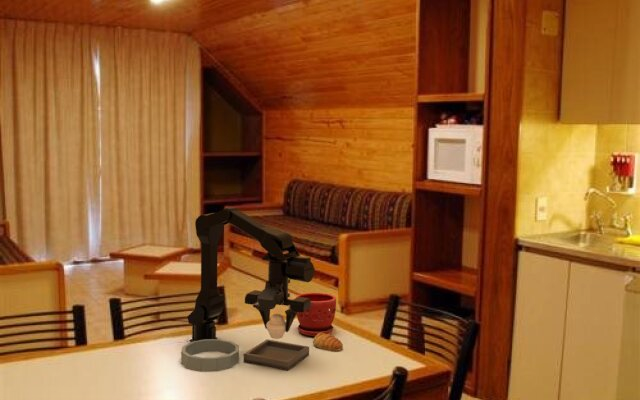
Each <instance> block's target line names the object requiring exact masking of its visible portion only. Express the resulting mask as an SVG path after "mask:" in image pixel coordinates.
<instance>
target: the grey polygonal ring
mask: <svg viewBox="0 0 640 400" xmlns="http://www.w3.org/2000/svg"><path fill="white" fill-rule="evenodd" d="M209 352H210V353H224V354H226V355H221V356H216V357H215V356H214V357H212V356H211V357H210V356H209V357H208V356H207V357H201V356H196V355H197V354H202V353H209ZM180 358H181V359H180V360H181V361H180V364H181V365H182V366H183V367H185V368H187V369H188V370H192V371H193V370H194V371H197V372H198V371H199V372H219V371H223V370H229V369H232V368H233V367H235V366H236V365H238V364H239V362H240V345H239V344H237V343H236V342H234V341H233V340H232V341H231V340H226V339H221V338H218V339H204V340H199V341H193V342H188V343H187V344H184V345H182V347H181V352H180Z"/></svg>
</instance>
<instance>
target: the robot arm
mask: <svg viewBox="0 0 640 400" xmlns="http://www.w3.org/2000/svg"><path fill="white" fill-rule="evenodd" d="M228 224H231V225H232V226H233V227H235V228H237V229H239V230H240V231H241V232H244V233H245V234H247V235H249V236H250V237H252V238H253V239H255V240H257V241H258V243H259V244H260V246H261V247H262V248H263V249H264V250H265V251H266V254H265V255H264V256H262V257H261V260H262V261H267V262H268V265H267V266H268V267H267V268H268V274H267V275H268V277H267V280H266V281H265V287H264V289H262V290H257V289H255V290H252V291H250V292H248V293H246V294H245V295H244V304H245V305H251V306H252V307H253V308H255V309H256V310H257V311H258V313H259V315H260V316H261V318H262V319H261V320H262V321H263V325H264V328H265V329H266V330H267V327H266V324H267V322H268V321H270V319H271V310H274V309H275V308H276V306H287V307H288V309H285V311H284V313H285V316H286V317H285V322H286V332H285V333H288V332H290V329H291V327H292V326H293V323H294V320H295V318H296V317H297V313H298V312H305V311H306V310H308V309H310V308H311V301H310V299H309V298H304V297H297V296H296V297H297V298H296V297H295V298H293V299H291V298H290V296H291V293H290V292H289V284H290V283H291V280H293V281H297V282H298V281H299V282H303V283H310V282H311V281H312V280H313V278H314V275H315V267H314V266H315V265H314V263H313V262H312V259H311V257H309V256H304V257H303V256H300V252H299V251H298V249H297V248H296V245H295V244H294V242H293V238H292V236H291V234H290V233H288V232H286V231H283V230H280V229H277V228H272V227H269V226H267V225H264V224H263V223H261V222H260V221H258V220H257V219H256V218H255V219H254V218H253V217H251V216H249V215H248V214H246V213H245V212H242V211H241V210H240V209H239V208H238V207H235V206H232V207H225V208H223V209H222V210H220V211H217V212H212V213H207V214H206V213H205V214H201V215H199V216H198V217H197V218H196V219H195V221H194V225H195V234H196V236H197V239H198V240H199V242H200V246H201V247H200V290H199V292H198V295H197V296H196V299H195V302H194V303H195V304H194V310H192V311H191V312H190V313H189V314H188V315H187V317H186V318H187V322H188V324H191V331H192V332H191V334H192V337H191V339H189V341H188V343H190V342H193V341H199V340H204V339H219V338H218V337H217V326H216V321H215V320H219V317H220V314H222V312H223V309H224V308H225V304H224V303H225V302H224V300H225V295H224V294H221V293H220V291H219V290H218V252H219V251H218V250H219V249H218V244H219V242H220V239H221V237H222V235H223V232H224V227H225V226H226V225H228Z"/></svg>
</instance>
